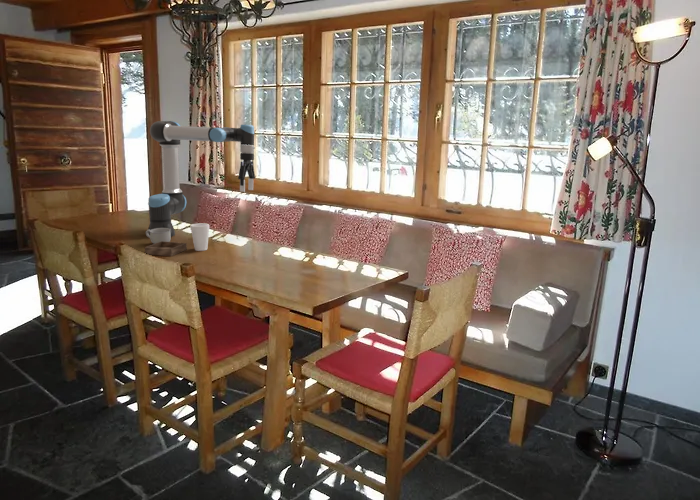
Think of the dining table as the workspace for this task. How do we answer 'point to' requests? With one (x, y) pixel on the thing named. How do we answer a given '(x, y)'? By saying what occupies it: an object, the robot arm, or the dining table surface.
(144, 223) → the dining table surface
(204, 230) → the foam cup
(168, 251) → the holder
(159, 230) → the teacup
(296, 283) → the dining table surface
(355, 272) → the dining table surface
